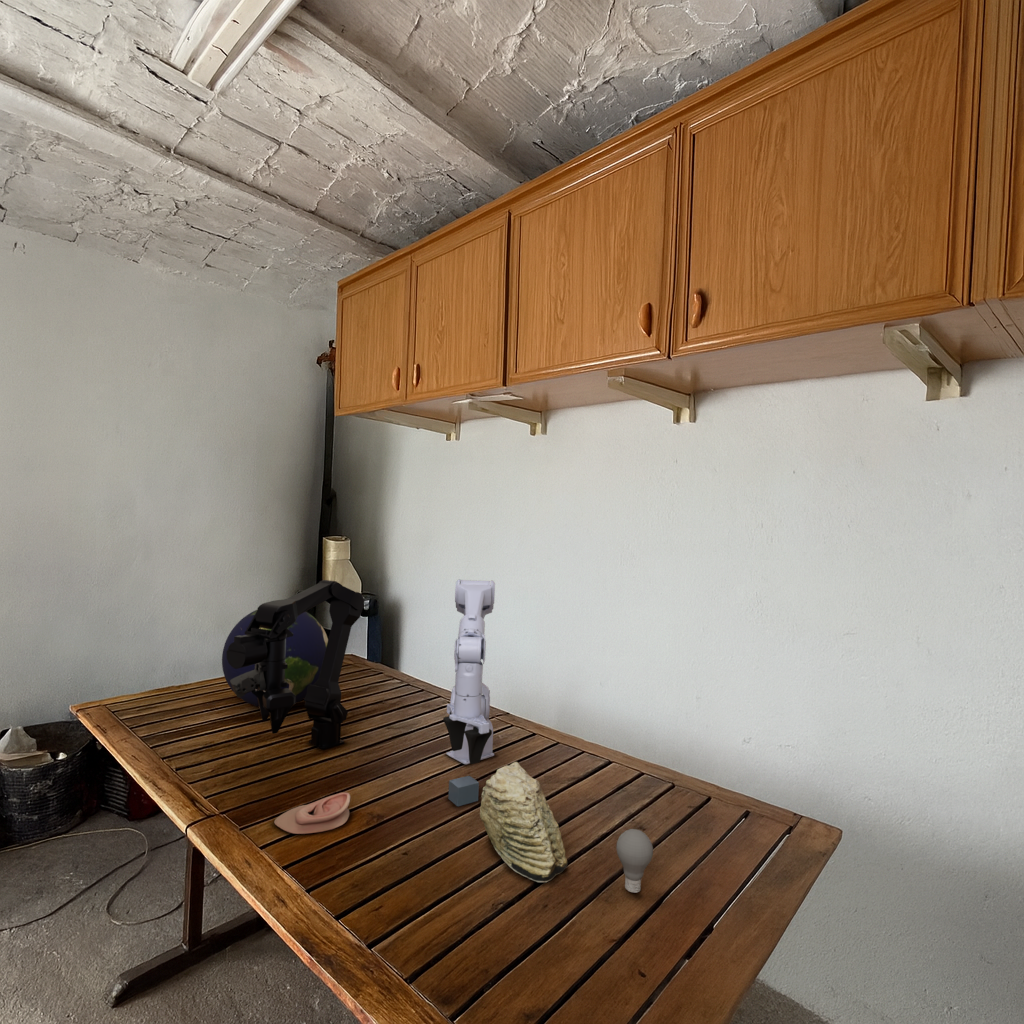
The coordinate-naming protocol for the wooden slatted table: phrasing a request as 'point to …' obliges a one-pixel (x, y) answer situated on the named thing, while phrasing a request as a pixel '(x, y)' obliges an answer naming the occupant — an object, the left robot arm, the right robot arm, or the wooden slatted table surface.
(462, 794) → the brick
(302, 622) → the globe
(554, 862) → the fossil
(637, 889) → the light bulb
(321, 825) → the anatomical model
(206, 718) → the wooden slatted table surface
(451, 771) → the wooden slatted table surface
